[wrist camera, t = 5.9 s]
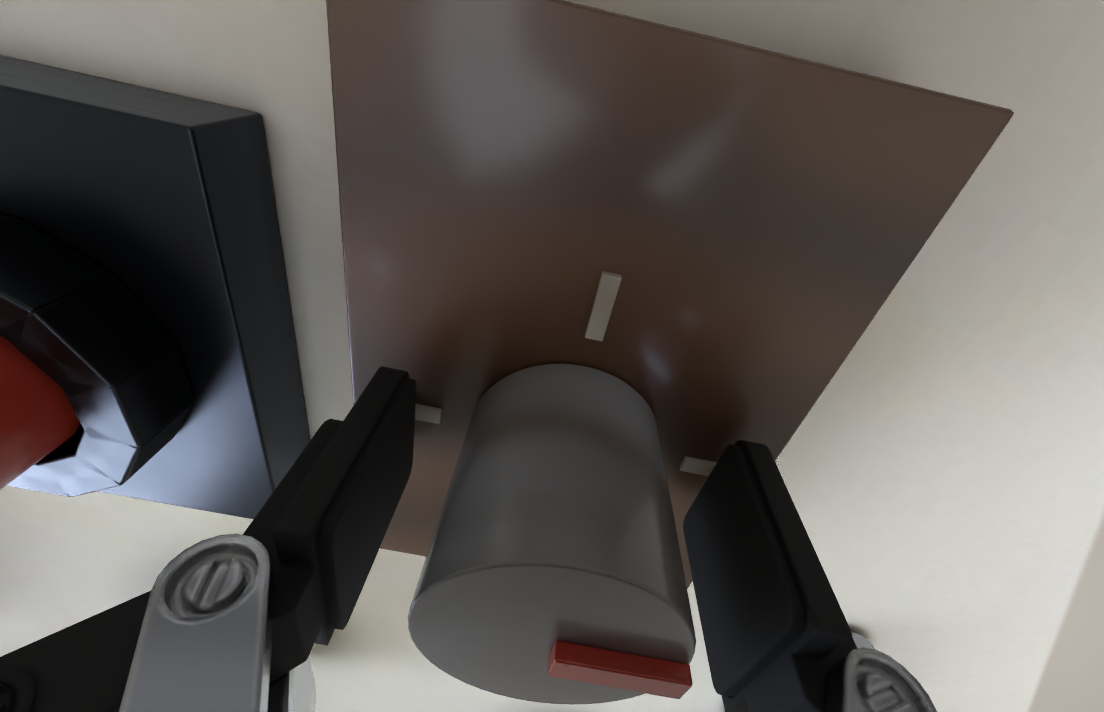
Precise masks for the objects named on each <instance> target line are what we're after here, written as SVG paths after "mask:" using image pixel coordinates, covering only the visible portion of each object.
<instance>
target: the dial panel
mask: <svg viewBox="0 0 1104 712" xmlns="http://www.w3.org/2000/svg"><path fill="white" fill-rule="evenodd" d="M326 4H327V19H328V34H329V48H330V63H331V78H332V93H333V108H334V123H335V138H336V152H337V167H338V182H339V197H340V212H341V227H342V242H343V256H344V271H345V286H346V301H347V316H348V331H349V346H350V361H351V375H352V390H353V405H354V404H355V403H356V401H357V400H358V398H359V397H360V395H361V394H362V392H363V391H364V389H365V388H366V386H367V385H368V383H369V382H370V380H371V379H372V377H373V376H374V374H375V373H376V371H377V370H378V369H379V368H380V367H381V366H383V367H388V368H393V369H398V370H403V371H407V372H408V374H409V379H413V380H416V405H415V427H414V449H413V465H412V470H411V474H410V477H409V480H408V482H407V484H406V487H405V489H404V491H403V494H402V496H401V499H400V501H399V503H398V506H397V508H396V510H395V513H394V515H393V517H392V520H391V522H390V524H389V527H388V529H387V532H386V534H385V536H384V539H383V541H382V543H381V546H380V548H381V549H387V550H393V551H398V552H404V553H409V554H415V555H421V556H427V553H428V550H429V547H430V544H431V541H432V538H433V535H434V532H435V529H436V526H437V523H438V519H439V516H440V513H441V510H442V507H443V504H444V501H445V498H446V495H447V492H448V489H449V485H450V482H451V479H452V476H453V473H454V470H455V467H456V464H457V461H458V458H459V455H460V452H461V448H462V445H463V442H464V439H465V436H466V433H467V430H468V427H469V424H470V421H471V418H472V414H473V412H474V410H475V407H476V405H477V403H478V402H479V400H480V399H481V397H482V396H483V395H484V394H485V393H486V392H487V391H488V390H489V388H491V387H492V386H493V385H494V384H496V383H497V382H498V381H500V380H501V379H503V378H505V377H507V376H508V375H510V374H513V373H515V372H517V371H520V370H523V369H526V368H530V367H533V366H539V365H545V364H574V365H581V366H587V367H590V368H594V369H598V370H601V371H603V372H606V373H608V374H611V375H613V376H615V377H617V378H618V379H620V380H622V381H624V382H625V383H627V384H628V385H629V386H631V387H632V388H633V389H634V390H635V391H636V392H638V393H639V394H640V395H641V396H642V397H643V399H644V400H645V401H646V402H647V404H648V405H649V407H650V408H651V410H652V412H653V414H654V416H655V419H656V422H657V425H658V431H659V436H660V442H661V447H662V453H663V459H664V464H665V470H666V475H667V481H668V487H669V492H670V498H671V503H672V509H673V514H674V520H675V526H676V531H677V537H678V542H679V548H680V554H681V559H682V565H683V570H684V576H685V581H686V587H687V588H688V587H689V585H690V584H691V582H692V581H693V579H692V574H691V568H690V563H689V558H688V553H687V548H686V543H685V537H684V532H683V522H684V518H685V515H686V513H687V512H688V510H689V508H690V507H691V505H692V503H693V502H694V500H695V498H696V497H697V495H698V493H699V492H700V490H701V488H702V487H703V485H704V483H705V482H706V480H707V478H708V477H709V475H710V473H711V472H712V470H713V468H714V467H715V465H716V463H717V462H718V460H719V458H720V457H721V455H722V453H723V451H724V450H725V448H726V447H727V446H728V445H729V444H732V445H734V443H735V442H736V441H738V440H745V441H750V442H755V443H760V444H764V445H766V446H767V447H768V448H769V450H770V452H771V454H772V456H773V459H774V461H775V460H776V459H777V457H778V456H779V455H780V453H781V452H782V450H783V449H784V447H785V446H786V444H787V443H788V441H789V440H790V439H791V437H792V436H793V434H794V433H795V431H796V430H797V428H798V427H799V425H800V424H801V423H802V421H803V420H804V418H805V417H806V415H807V414H808V412H809V411H810V409H811V408H812V407H813V405H814V404H815V402H816V401H817V399H818V398H819V396H820V395H821V393H822V392H823V391H824V389H825V388H826V386H827V385H828V383H829V382H830V380H831V379H832V377H833V376H834V375H835V373H836V372H837V370H838V369H839V367H840V366H841V364H842V363H843V362H844V360H845V359H846V357H847V356H848V354H849V353H850V351H851V350H852V348H853V347H854V346H855V344H856V343H857V341H858V340H859V338H860V337H861V335H862V334H863V332H864V331H865V330H866V328H867V327H868V325H869V324H870V322H871V321H872V319H873V318H874V316H875V315H876V314H877V312H878V311H879V309H880V308H881V306H882V305H883V303H884V302H885V300H886V299H887V298H888V296H889V295H890V293H891V292H892V290H893V289H894V287H895V286H896V284H897V283H898V282H899V280H900V279H901V277H902V276H903V274H904V273H905V271H906V270H907V268H908V267H909V266H910V264H911V263H912V261H913V260H914V258H915V257H916V255H917V254H918V253H919V251H920V250H921V248H922V247H923V245H924V244H925V242H926V241H927V239H928V238H929V237H930V235H931V234H932V232H933V231H934V229H935V228H936V226H937V225H938V223H939V222H940V221H941V219H942V218H943V216H944V215H945V213H946V212H947V210H948V209H949V207H950V206H951V205H952V203H953V202H954V200H955V199H956V197H957V196H958V194H959V193H960V191H961V190H962V189H963V187H964V186H965V184H966V183H967V181H968V180H969V178H970V177H971V175H972V174H973V173H974V171H975V170H976V168H977V167H978V165H979V164H980V162H981V161H982V159H983V158H984V157H985V155H986V154H987V152H988V151H989V149H990V148H991V146H992V145H993V144H994V142H995V141H996V139H997V138H998V136H999V135H1000V133H1001V132H1002V130H1003V129H1004V128H1005V126H1006V125H1007V123H1008V122H1009V120H1010V119H1011V117H1012V116H1013V113H1014V112H1013V111H1012V110H1010V109H1006V108H1002V107H998V106H994V105H990V104H986V103H982V102H977V101H973V100H969V99H965V98H961V97H957V96H953V95H949V94H945V93H941V92H937V91H932V90H928V89H924V88H920V87H916V86H912V85H908V84H904V83H900V82H896V81H892V80H887V79H883V78H879V77H875V76H871V75H867V74H863V73H859V72H855V71H851V70H847V69H842V68H838V67H834V66H830V65H826V64H822V63H818V62H814V61H810V60H806V59H802V58H797V57H793V56H789V55H785V54H781V53H777V52H773V51H769V50H765V49H761V48H757V47H752V46H748V45H744V44H740V43H736V42H732V41H728V40H724V39H720V38H716V37H712V36H707V35H703V34H699V33H695V32H691V31H687V30H683V29H679V28H675V27H671V26H667V25H662V24H658V23H654V22H650V21H646V20H642V19H638V18H634V17H630V16H626V15H621V14H617V13H613V12H609V11H605V10H601V9H597V8H593V7H589V6H585V5H581V4H576V3H572V2H568V1H564V0H326Z"/></svg>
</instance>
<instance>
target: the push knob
mask: <svg viewBox="0 0 1104 712" xmlns="http://www.w3.org/2000/svg"><path fill="white" fill-rule="evenodd" d="M79 425H80V422H79V420H78V418H77V416H76V414H75V412H74V410H73V408H72V407H71V405H70V403H69V401H68V399H67V397H66V395H65V393H64V392H63V390H62V388H61V387H60V386H59V385H57V384H56V383H55V382H54V381H53V380H52V379H51V378H50V377H48V376H47V375H46V374H45V373H44V372H43V371H42V370H40V369H39V368H38V367H37V366H36V365H35V364H34V363H32V362H31V361H30V360H29V359H28V358H27V357H26V356H24V355H23V354H22V353H21V352H20V351H19V350H18V349H16V348H15V347H14V346H13V345H12V344H11V343H10V342H8V341H7V340H6V339H5V338H3V337H1V336H0V490H1V489H2V488H3V487H5V486H6V485H7V484H9V483H10V482H11V481H13V480H14V479H16V478H17V477H18V476H20V475H21V474H22V473H24V472H25V471H26V470H28V469H29V468H30V467H32V466H33V465H34V464H36V463H37V462H38V461H40V460H41V459H42V458H44V457H45V456H46V455H48V454H49V453H50V452H52V451H53V450H54V449H56V448H57V447H59V446H60V445H61V444H63V443H64V442H65V441H67V440H68V439H69V438H71V437H72V436H73V435H74V434H75V433H76V431H77V429H78V427H79Z"/></svg>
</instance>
